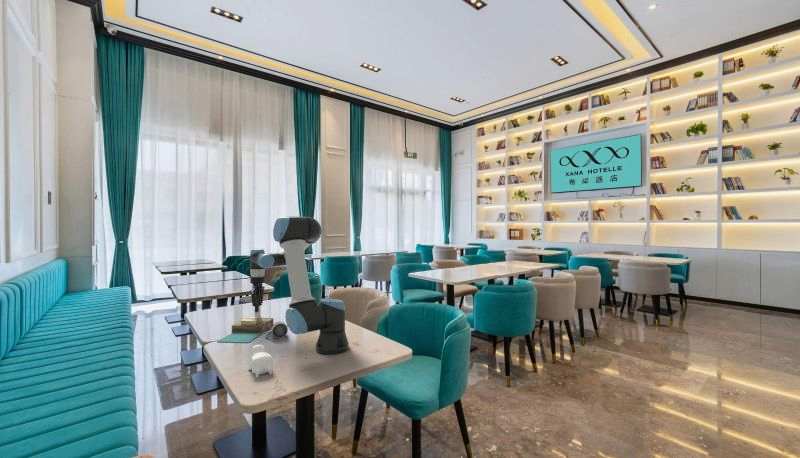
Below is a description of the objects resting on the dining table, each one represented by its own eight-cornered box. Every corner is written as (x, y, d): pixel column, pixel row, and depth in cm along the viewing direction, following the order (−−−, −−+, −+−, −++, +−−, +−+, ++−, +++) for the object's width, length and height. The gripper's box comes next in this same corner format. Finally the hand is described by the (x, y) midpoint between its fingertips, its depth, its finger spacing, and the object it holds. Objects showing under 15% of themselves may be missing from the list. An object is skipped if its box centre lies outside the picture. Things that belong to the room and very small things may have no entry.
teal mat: (248, 343, 171) (248, 342, 171) (217, 342, 172) (217, 341, 172) (262, 333, 186) (262, 332, 186) (233, 333, 187) (233, 332, 187)
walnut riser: (260, 333, 186) (260, 326, 186) (231, 332, 187) (231, 325, 187) (273, 324, 202) (273, 318, 202) (246, 324, 203) (246, 317, 203)
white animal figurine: (274, 380, 137) (266, 354, 149) (276, 362, 135) (268, 338, 146) (251, 385, 133) (245, 359, 144) (253, 367, 130) (246, 342, 141)
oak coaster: (255, 324, 188) (255, 321, 188) (240, 324, 189) (240, 320, 189) (262, 320, 196) (262, 317, 196) (248, 320, 197) (248, 316, 197)
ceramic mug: (286, 333, 187) (286, 318, 187) (288, 337, 179) (287, 322, 179) (265, 335, 183) (265, 321, 182) (265, 340, 175) (265, 325, 175)
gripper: (256, 274, 206) (256, 314, 206) (245, 277, 193) (245, 320, 193) (268, 274, 205) (269, 314, 205) (258, 277, 192) (258, 320, 192)
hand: (257, 317), depth 199 cm, fingers closed
